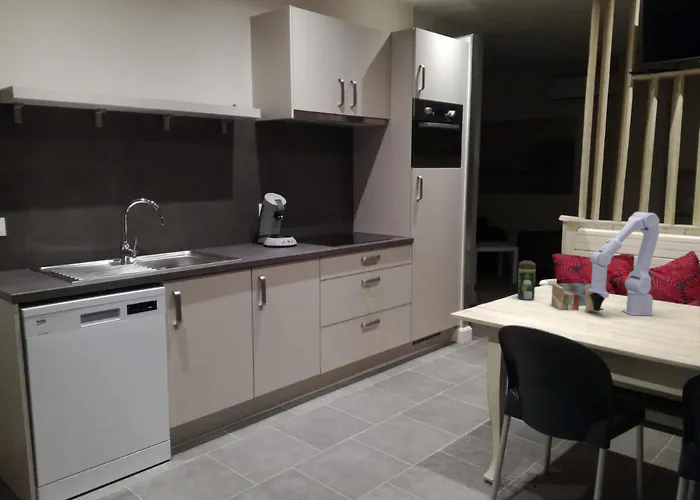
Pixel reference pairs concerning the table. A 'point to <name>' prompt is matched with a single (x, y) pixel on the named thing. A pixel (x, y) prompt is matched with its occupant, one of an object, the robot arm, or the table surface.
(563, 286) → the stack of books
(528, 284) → the coffee jar
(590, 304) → the box
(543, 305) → the table surface
